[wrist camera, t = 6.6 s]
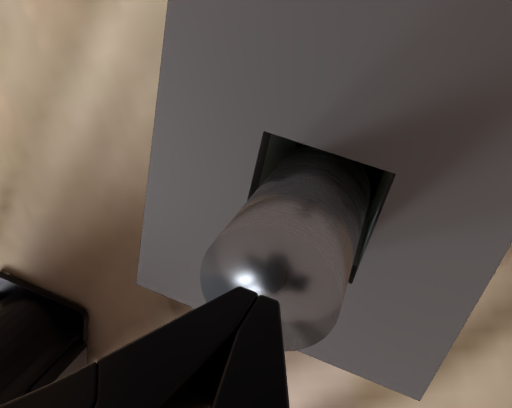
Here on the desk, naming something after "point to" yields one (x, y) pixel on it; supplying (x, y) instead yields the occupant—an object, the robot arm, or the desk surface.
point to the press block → (344, 155)
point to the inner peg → (295, 242)
